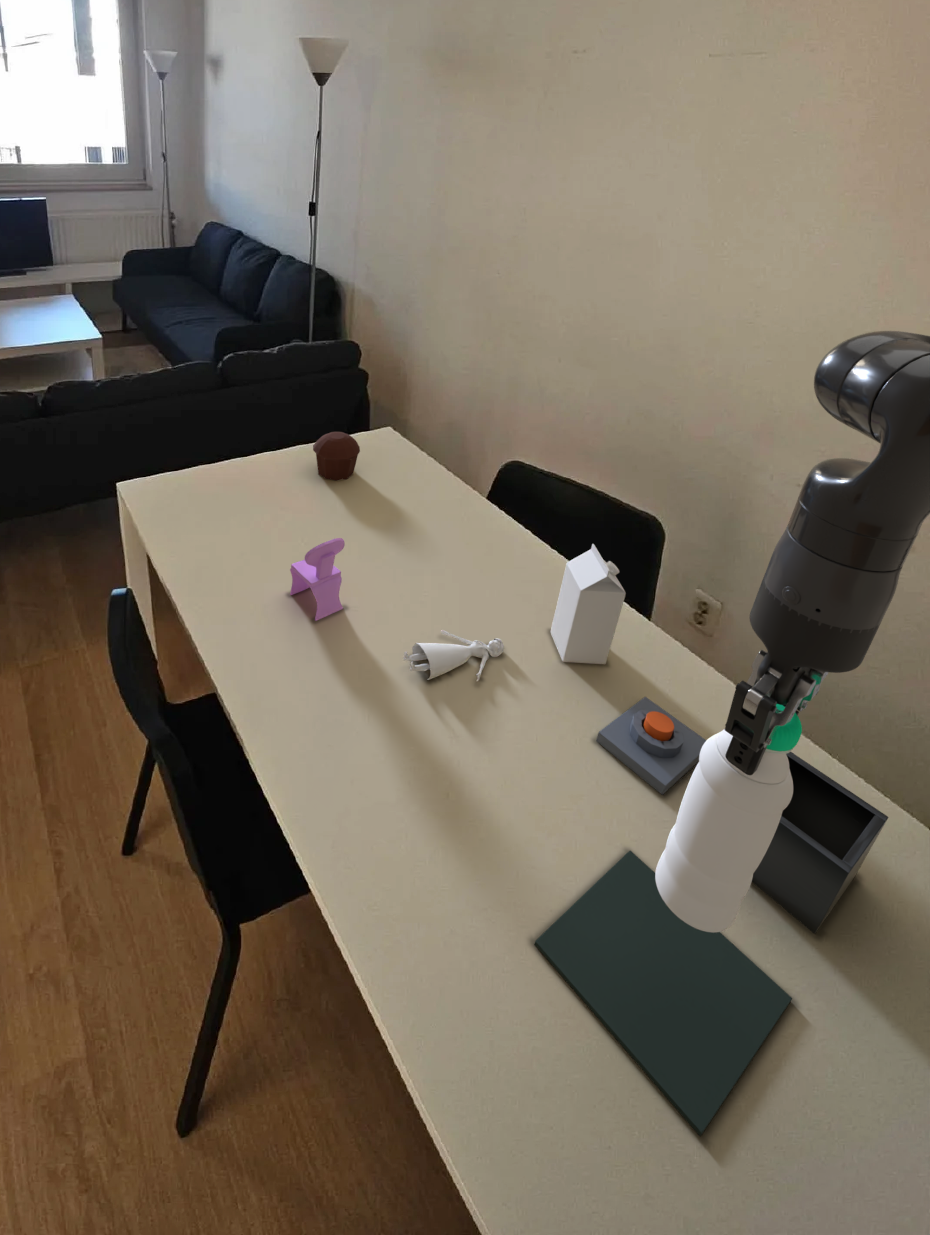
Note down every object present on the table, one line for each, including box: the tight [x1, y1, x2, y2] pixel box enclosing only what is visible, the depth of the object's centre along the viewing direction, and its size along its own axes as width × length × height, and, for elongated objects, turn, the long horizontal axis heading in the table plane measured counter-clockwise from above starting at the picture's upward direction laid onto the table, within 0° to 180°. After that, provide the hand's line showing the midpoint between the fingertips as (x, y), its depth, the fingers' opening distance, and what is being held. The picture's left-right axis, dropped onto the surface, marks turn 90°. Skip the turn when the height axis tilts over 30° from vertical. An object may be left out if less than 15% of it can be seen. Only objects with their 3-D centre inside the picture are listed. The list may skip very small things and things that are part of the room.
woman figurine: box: [402, 629, 505, 682], centre depth 111 cm, size 12×4×18 cm
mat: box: [533, 850, 793, 1137], centre depth 72 cm, size 18×18×1 cm
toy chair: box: [289, 537, 346, 622], centre depth 120 cm, size 8×9×15 cm
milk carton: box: [550, 543, 627, 665], centre depth 111 cm, size 7×7×19 cm
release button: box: [643, 711, 674, 741], centre depth 96 cm, size 4×4×2 cm
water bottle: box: [654, 704, 803, 933], centre depth 62 cm, size 7×7×25 cm
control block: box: [595, 696, 708, 796], centre depth 97 cm, size 12×10×4 cm
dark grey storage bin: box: [751, 751, 889, 934], centre depth 81 cm, size 11×11×11 cm
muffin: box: [312, 431, 361, 482], centre depth 166 cm, size 12×11×10 cm
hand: (755, 749), depth 59 cm, fingers closed on water bottle, 5 cm apart
